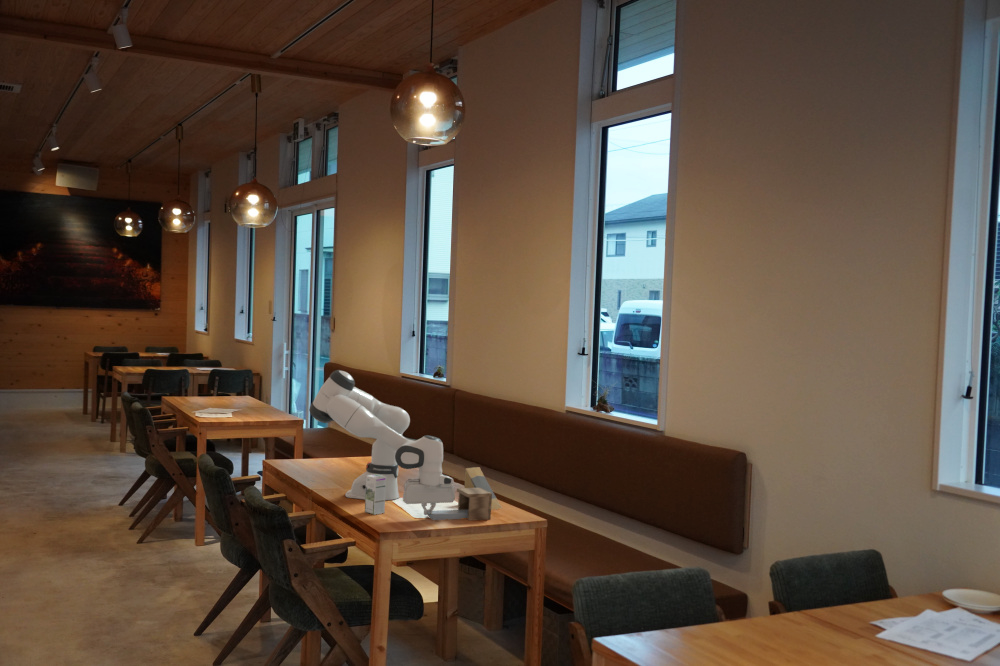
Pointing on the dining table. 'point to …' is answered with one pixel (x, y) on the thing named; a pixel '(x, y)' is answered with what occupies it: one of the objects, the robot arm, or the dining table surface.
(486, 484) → the sandwich container
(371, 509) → the syrup box
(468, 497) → the open wooden box
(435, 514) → the panel
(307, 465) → the dining table surface
